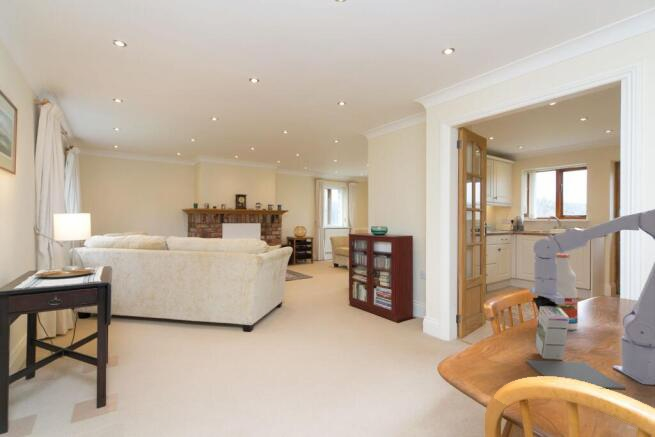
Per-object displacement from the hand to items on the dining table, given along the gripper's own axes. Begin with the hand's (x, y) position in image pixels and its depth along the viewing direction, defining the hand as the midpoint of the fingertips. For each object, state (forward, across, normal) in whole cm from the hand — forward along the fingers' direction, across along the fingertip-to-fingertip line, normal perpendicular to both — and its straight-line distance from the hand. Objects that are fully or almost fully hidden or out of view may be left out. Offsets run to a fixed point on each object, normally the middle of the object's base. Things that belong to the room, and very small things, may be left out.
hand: (546, 322), depth 98 cm
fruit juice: (+10, -28, +22) cm, 37 cm away
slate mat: (+10, +13, -1) cm, 16 cm away
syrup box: (+9, +1, 0) cm, 9 cm away
